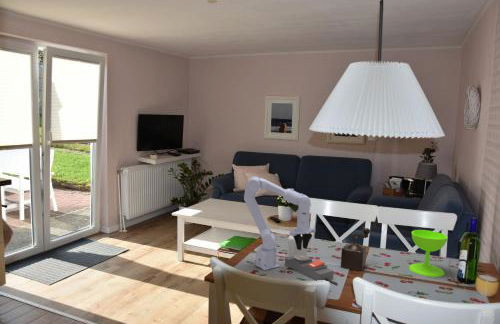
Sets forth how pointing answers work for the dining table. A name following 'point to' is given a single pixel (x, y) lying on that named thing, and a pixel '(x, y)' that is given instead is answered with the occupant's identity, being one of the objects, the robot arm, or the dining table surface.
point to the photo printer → (295, 248)
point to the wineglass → (428, 251)
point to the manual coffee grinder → (354, 254)
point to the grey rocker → (301, 257)
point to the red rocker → (316, 264)
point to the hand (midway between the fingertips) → (301, 248)
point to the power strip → (310, 269)
